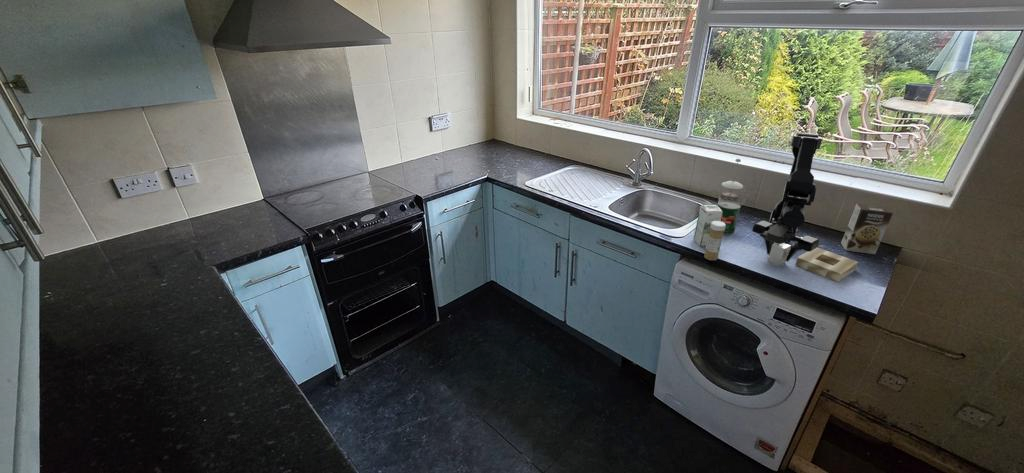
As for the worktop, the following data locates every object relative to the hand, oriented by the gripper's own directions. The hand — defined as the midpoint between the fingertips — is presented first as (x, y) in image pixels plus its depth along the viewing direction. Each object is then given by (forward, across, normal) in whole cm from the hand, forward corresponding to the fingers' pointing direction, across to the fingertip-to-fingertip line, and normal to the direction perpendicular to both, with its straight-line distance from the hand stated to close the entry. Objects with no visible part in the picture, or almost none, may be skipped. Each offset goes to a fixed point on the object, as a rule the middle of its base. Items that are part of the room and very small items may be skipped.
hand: (777, 257), depth 147 cm
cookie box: (+2, +12, +34) cm, 36 cm away
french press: (+2, -32, +23) cm, 40 cm away
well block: (+2, +11, +10) cm, 15 cm away
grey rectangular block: (+2, 0, 0) cm, 2 cm away
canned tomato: (+2, -25, +9) cm, 27 cm away
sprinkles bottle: (+2, -15, -15) cm, 21 cm away
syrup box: (+2, -23, -7) cm, 24 cm away
